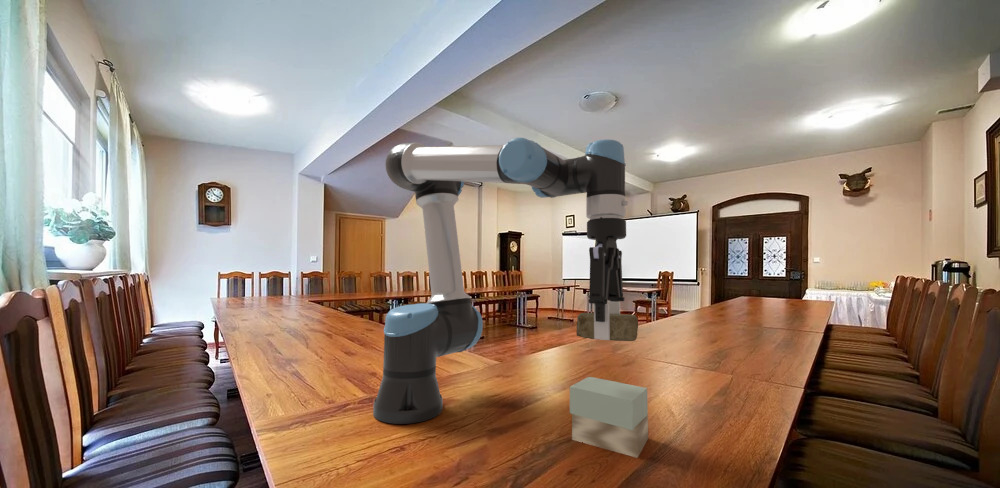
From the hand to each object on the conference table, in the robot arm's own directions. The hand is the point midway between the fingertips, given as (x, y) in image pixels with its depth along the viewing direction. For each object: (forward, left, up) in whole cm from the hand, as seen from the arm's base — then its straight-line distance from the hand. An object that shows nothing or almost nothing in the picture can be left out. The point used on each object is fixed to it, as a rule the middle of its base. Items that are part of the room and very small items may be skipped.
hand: (607, 336), depth 72 cm
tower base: (0, +1, -20) cm, 20 cm away
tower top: (0, +1, -15) cm, 15 cm away
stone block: (0, 0, -1) cm, 1 cm away
